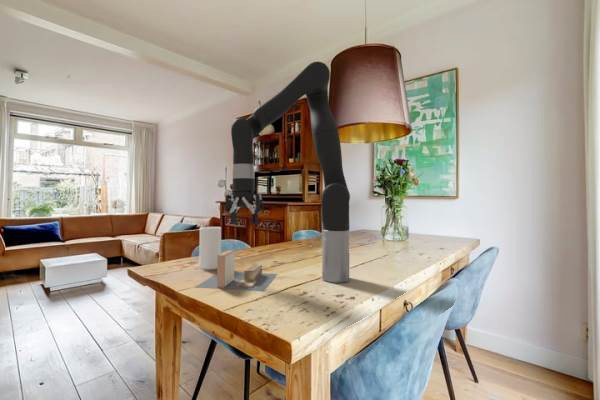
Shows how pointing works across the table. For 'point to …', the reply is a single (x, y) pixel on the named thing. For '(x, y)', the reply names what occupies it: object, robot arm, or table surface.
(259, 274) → the beige pillar on base
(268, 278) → the mat
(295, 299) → the table surface
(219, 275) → the tile
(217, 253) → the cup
